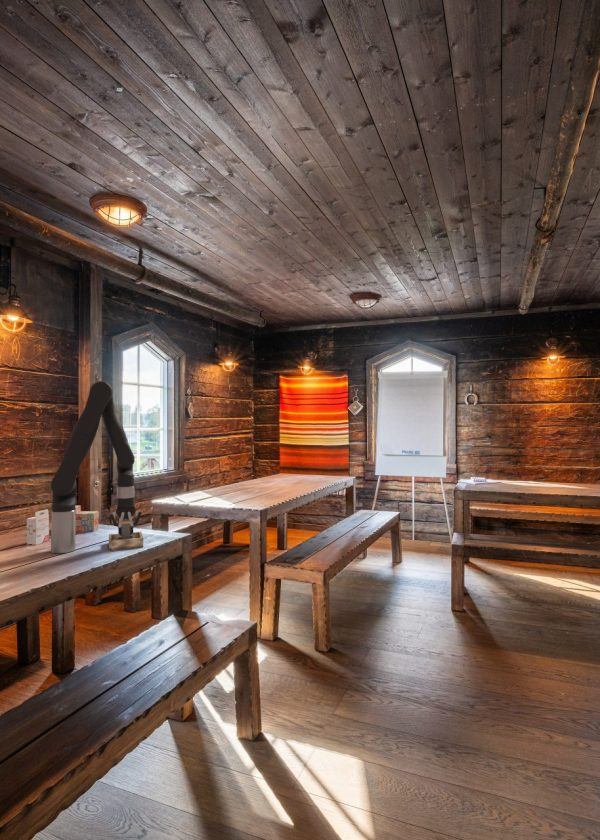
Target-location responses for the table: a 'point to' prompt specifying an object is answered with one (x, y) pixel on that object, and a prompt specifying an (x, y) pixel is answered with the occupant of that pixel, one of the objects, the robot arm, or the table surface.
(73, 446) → the robot arm
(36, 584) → the table surface
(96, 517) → the multicoloured rectangular block
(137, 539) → the box
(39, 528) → the ink cartridge box
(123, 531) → the connector
